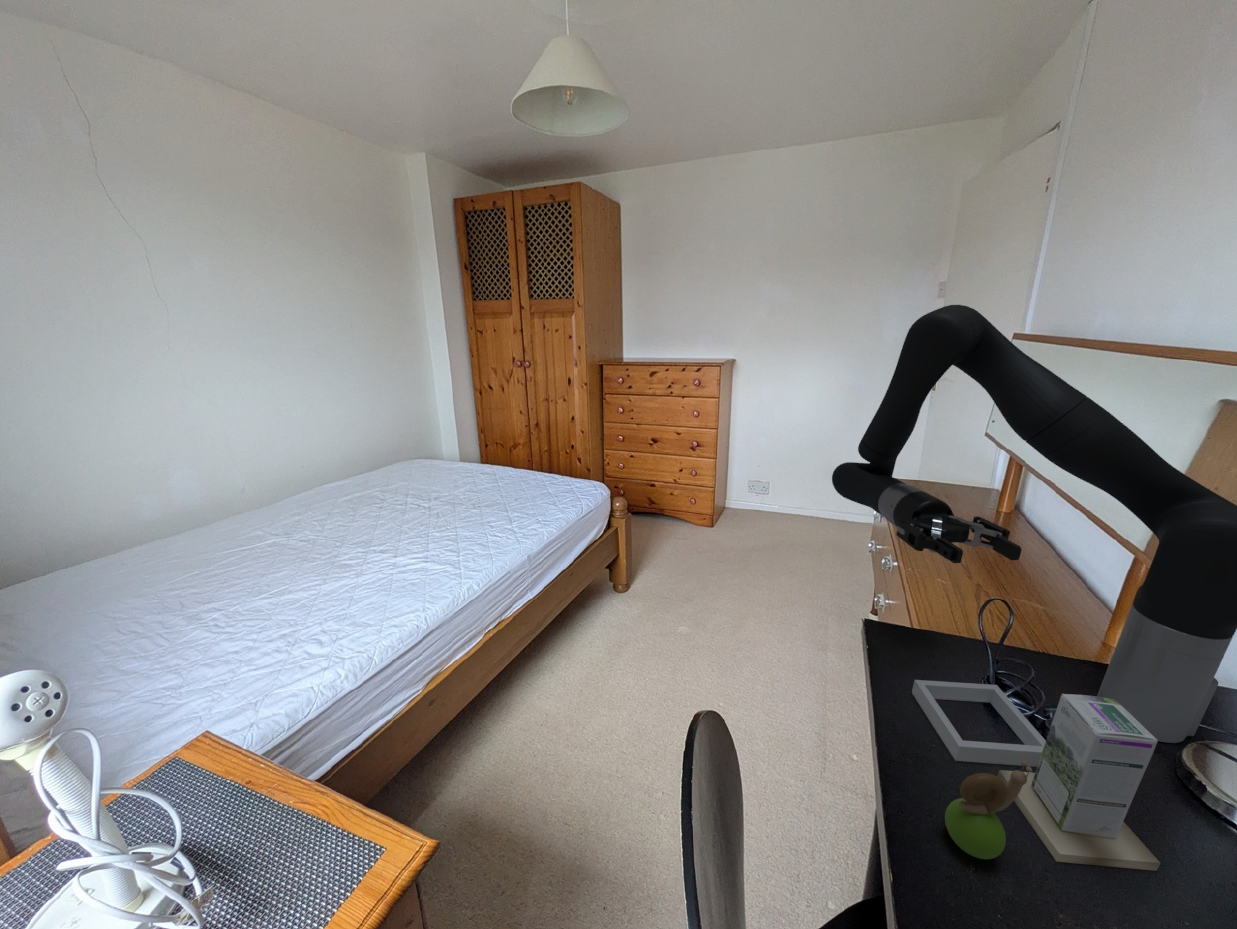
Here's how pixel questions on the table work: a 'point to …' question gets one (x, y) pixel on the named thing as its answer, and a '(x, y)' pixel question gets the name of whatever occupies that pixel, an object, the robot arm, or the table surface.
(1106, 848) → the birch pad
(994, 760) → the grey square frame
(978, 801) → the snail figurine
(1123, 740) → the syrup box
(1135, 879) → the table surface
